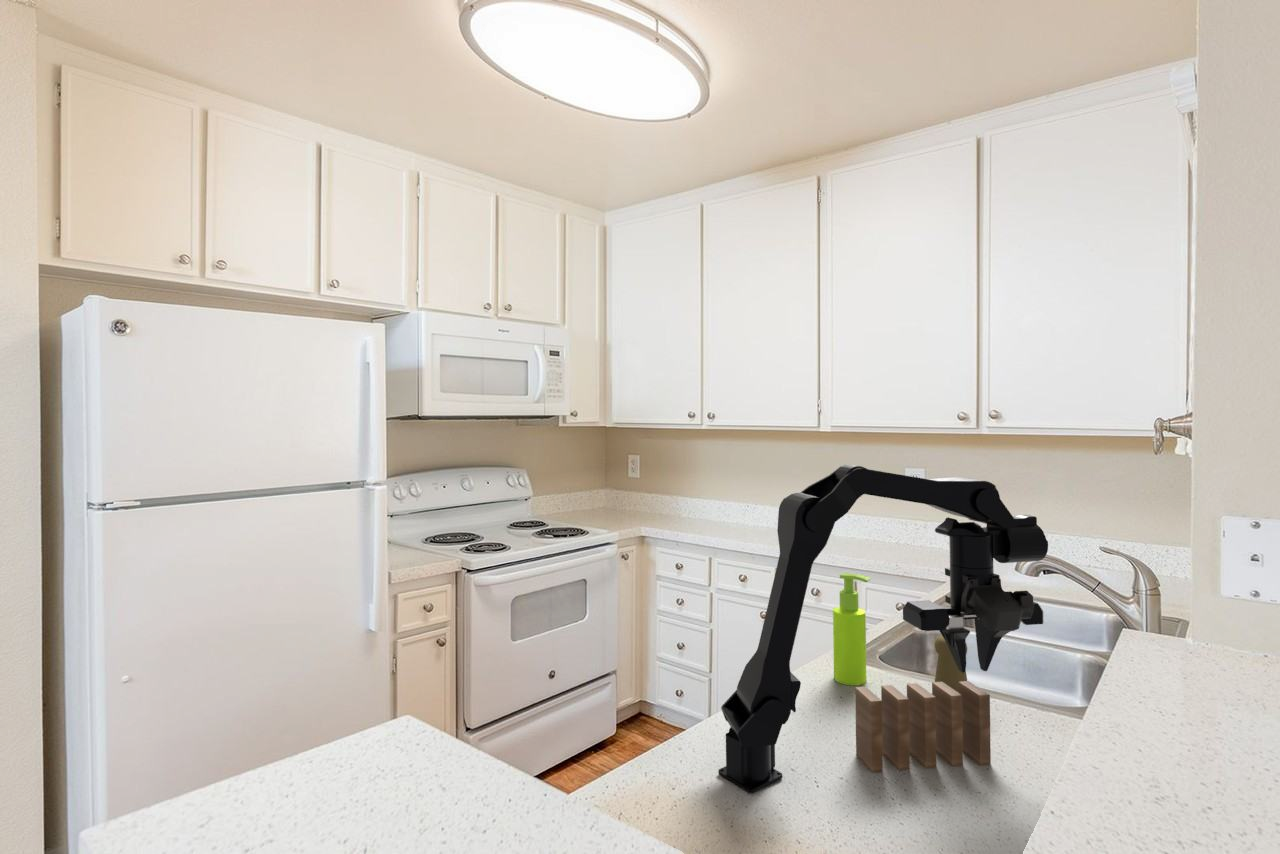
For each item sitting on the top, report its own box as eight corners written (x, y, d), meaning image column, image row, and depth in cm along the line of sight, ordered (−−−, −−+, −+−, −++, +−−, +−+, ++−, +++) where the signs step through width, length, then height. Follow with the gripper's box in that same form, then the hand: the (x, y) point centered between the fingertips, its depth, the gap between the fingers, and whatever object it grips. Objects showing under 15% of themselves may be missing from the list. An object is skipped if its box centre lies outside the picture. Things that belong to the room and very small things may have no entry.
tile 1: (871, 772, 93) (870, 701, 93) (856, 754, 98) (855, 687, 98) (882, 771, 94) (881, 700, 93) (866, 754, 98) (865, 686, 98)
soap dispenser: (865, 689, 122) (864, 580, 122) (829, 680, 126) (827, 575, 126) (876, 679, 127) (874, 573, 126) (840, 671, 131) (839, 569, 131)
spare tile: (980, 765, 95) (979, 695, 95) (959, 748, 100) (958, 681, 100) (990, 764, 95) (989, 694, 95) (969, 747, 100) (968, 681, 100)
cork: (975, 707, 113) (974, 643, 113) (937, 705, 115) (936, 641, 115) (965, 693, 119) (964, 632, 119) (929, 691, 121) (928, 630, 120)
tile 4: (952, 766, 95) (951, 695, 95) (932, 748, 100) (932, 682, 100) (962, 765, 95) (962, 695, 95) (943, 748, 100) (942, 681, 100)
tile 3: (925, 768, 94) (924, 697, 94) (907, 750, 99) (906, 683, 99) (936, 767, 94) (935, 697, 94) (917, 750, 99) (916, 683, 99)
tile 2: (899, 770, 94) (898, 699, 94) (882, 752, 99) (881, 685, 99) (909, 769, 94) (908, 698, 94) (892, 752, 99) (891, 684, 99)
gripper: (942, 580, 88) (944, 698, 89) (1071, 574, 91) (1073, 688, 91) (900, 563, 99) (901, 667, 100) (1016, 557, 102) (1017, 659, 102)
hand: (972, 671), depth 98 cm, fingers open, 3 cm apart
